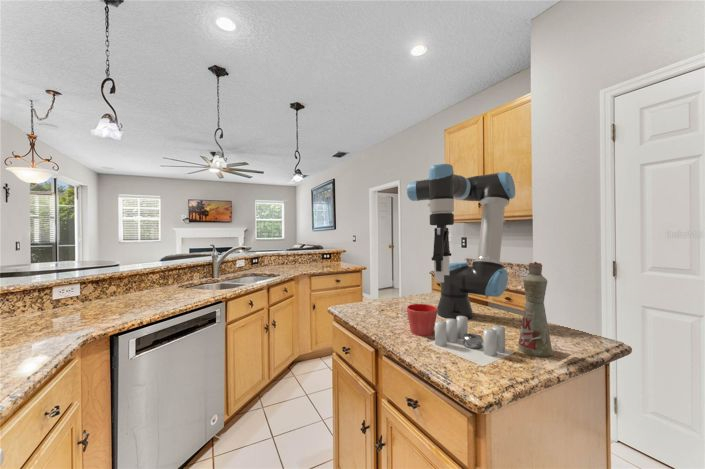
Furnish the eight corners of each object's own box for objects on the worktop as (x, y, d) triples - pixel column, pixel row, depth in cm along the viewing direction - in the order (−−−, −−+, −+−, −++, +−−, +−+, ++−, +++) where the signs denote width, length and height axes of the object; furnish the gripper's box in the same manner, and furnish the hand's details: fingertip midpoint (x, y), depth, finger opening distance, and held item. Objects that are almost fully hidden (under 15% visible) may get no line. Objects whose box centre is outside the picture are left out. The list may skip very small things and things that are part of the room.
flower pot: (439, 340, 98) (438, 312, 98) (406, 338, 100) (406, 310, 100) (436, 329, 108) (436, 304, 108) (407, 328, 111) (406, 303, 110)
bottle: (557, 361, 81) (556, 263, 81) (521, 357, 84) (520, 262, 84) (548, 349, 89) (547, 260, 89) (515, 345, 92) (514, 259, 92)
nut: (470, 341, 95) (470, 332, 95) (486, 346, 90) (485, 337, 90) (459, 345, 92) (459, 335, 92) (475, 351, 87) (475, 341, 87)
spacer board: (458, 334, 103) (458, 313, 103) (514, 354, 86) (514, 329, 86) (427, 344, 94) (427, 321, 94) (483, 368, 77) (482, 340, 77)
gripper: (435, 214, 105) (436, 272, 106) (421, 211, 83) (423, 284, 83) (457, 214, 102) (458, 273, 102) (449, 210, 80) (450, 286, 80)
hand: (442, 278), depth 93 cm, fingers open, 13 cm apart
